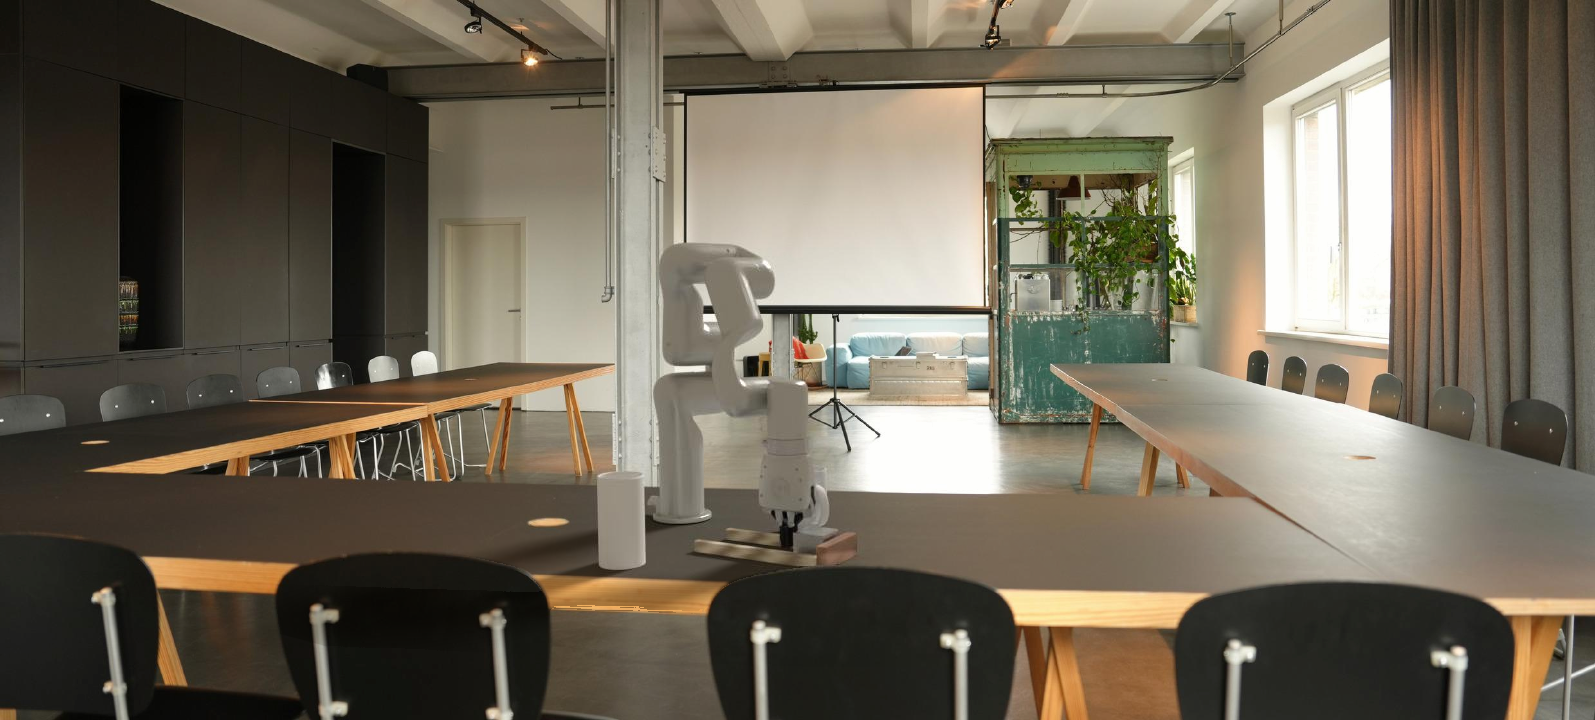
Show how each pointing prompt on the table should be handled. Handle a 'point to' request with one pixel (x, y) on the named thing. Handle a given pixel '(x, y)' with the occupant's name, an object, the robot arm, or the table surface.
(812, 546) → the block
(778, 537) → the u-shaped frame
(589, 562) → the table surface
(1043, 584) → the table surface
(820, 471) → the mug
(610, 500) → the cup
